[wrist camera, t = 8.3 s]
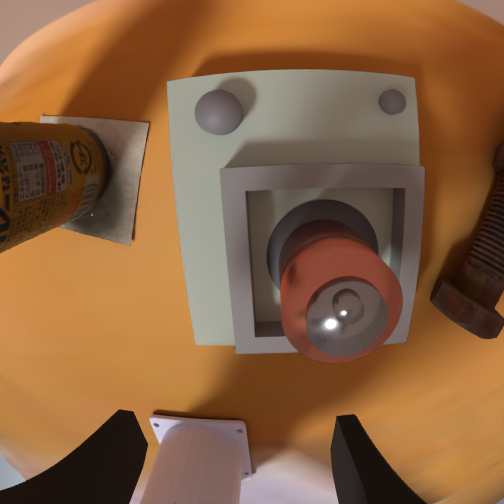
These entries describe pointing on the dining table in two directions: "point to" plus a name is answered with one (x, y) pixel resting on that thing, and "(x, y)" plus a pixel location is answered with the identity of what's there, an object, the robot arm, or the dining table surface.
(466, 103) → the dining table surface
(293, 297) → the orange short cylinder
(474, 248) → the bolt
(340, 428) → the robot arm
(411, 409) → the dining table surface
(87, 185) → the yellow metal cylinder
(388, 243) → the button control panel
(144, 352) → the dining table surface
